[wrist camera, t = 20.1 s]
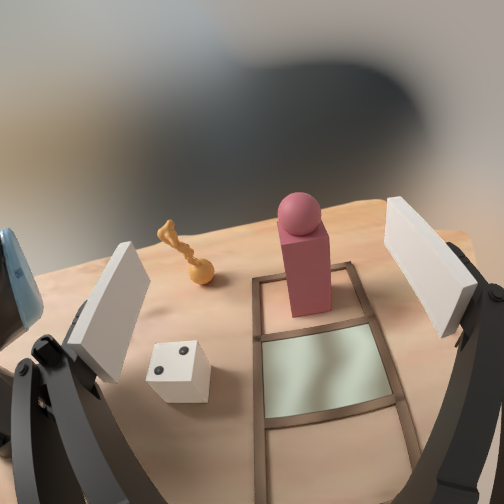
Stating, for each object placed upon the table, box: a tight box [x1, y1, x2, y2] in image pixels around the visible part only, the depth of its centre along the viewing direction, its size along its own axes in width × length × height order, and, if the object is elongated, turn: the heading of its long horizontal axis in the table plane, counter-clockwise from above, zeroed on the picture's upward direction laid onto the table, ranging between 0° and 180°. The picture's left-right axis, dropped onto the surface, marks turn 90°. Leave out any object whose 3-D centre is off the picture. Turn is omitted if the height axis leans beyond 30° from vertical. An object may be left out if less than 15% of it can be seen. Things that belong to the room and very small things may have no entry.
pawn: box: [277, 192, 331, 317], centre depth 32 cm, size 5×5×15 cm
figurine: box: [158, 220, 214, 284], centre depth 40 cm, size 8×6×12 cm
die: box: [146, 340, 211, 403], centre depth 27 cm, size 5×5×5 cm
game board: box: [252, 261, 421, 504], centre depth 27 cm, size 15×34×1 cm, turn 0°
